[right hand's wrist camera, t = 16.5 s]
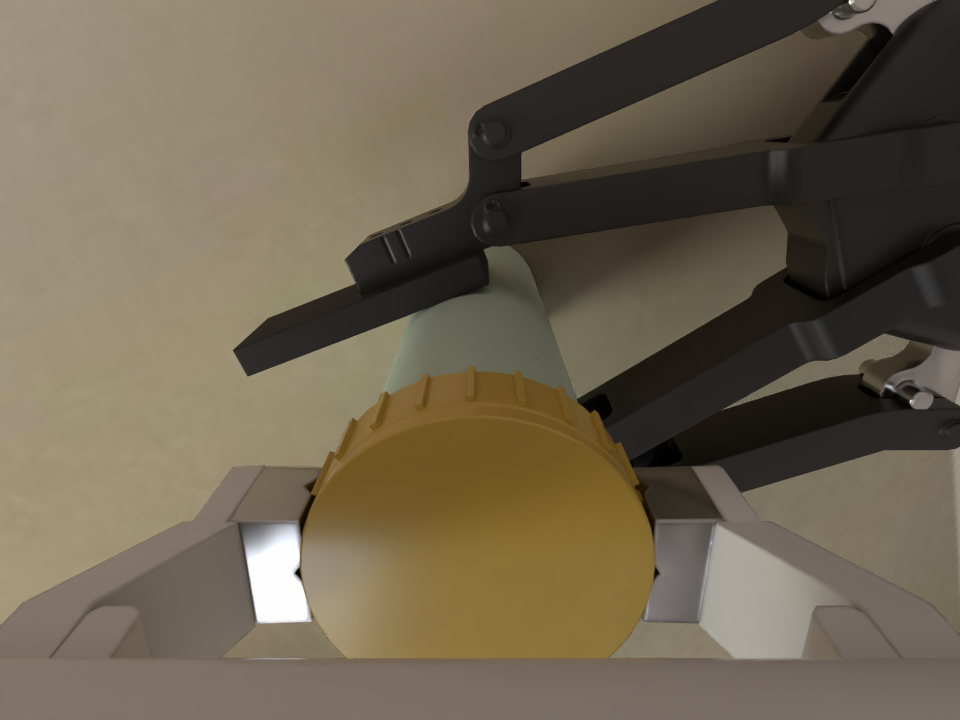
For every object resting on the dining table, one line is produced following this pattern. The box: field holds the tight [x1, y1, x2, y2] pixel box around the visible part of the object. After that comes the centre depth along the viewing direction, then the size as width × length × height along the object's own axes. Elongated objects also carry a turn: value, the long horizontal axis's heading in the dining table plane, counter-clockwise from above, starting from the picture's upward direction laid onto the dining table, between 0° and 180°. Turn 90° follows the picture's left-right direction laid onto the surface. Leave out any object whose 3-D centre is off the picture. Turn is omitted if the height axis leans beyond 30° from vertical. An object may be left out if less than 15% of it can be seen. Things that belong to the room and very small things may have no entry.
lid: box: [300, 366, 655, 658], centre depth 9 cm, size 5×5×2 cm
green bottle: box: [382, 246, 578, 403], centre depth 16 cm, size 4×4×15 cm
